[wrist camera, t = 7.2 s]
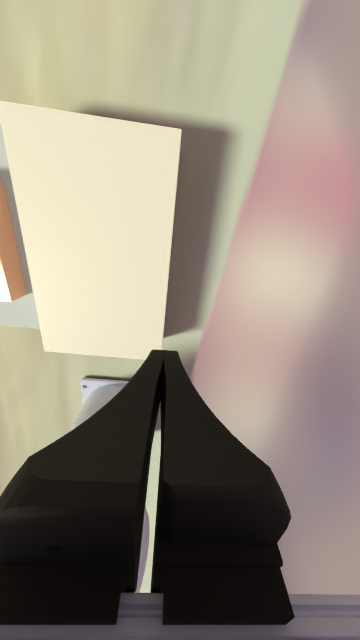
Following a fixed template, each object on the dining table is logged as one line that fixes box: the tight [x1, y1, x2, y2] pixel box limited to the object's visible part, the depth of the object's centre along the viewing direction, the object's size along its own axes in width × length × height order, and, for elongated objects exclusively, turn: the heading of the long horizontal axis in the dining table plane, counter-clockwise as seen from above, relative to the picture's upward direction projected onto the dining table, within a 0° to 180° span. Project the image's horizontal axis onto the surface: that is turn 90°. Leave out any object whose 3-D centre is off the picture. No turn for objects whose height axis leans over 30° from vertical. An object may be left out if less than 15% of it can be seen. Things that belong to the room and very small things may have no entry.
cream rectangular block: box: [0, 101, 182, 360], centre depth 16 cm, size 16×10×4 cm, turn 173°
